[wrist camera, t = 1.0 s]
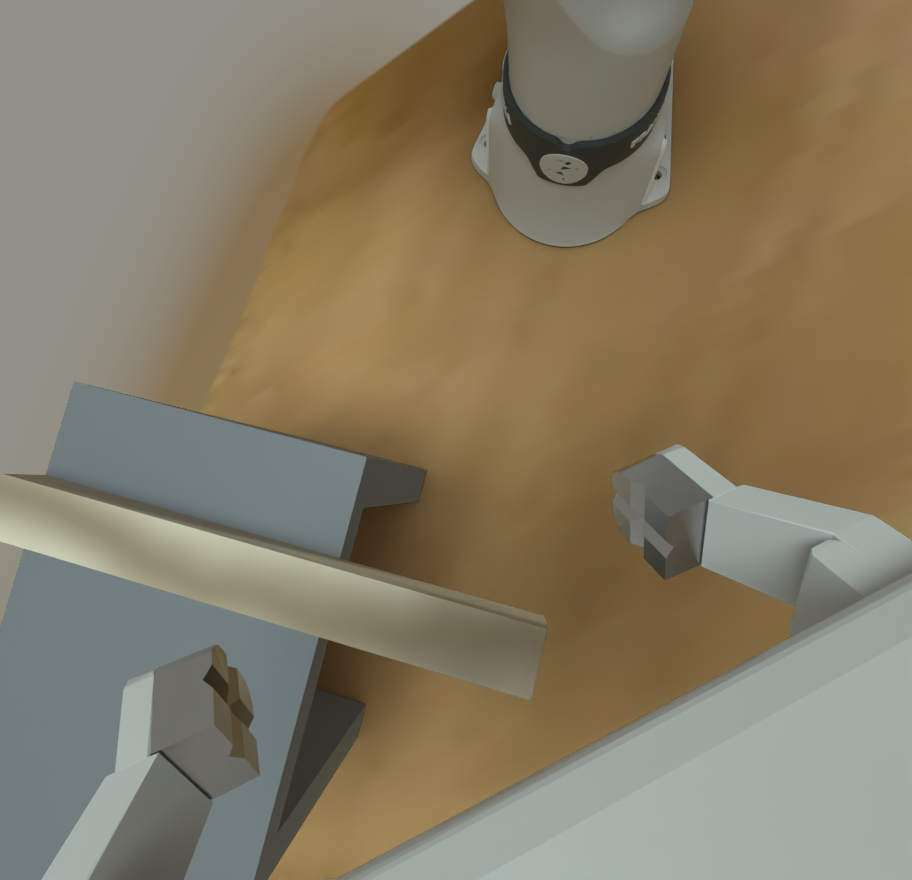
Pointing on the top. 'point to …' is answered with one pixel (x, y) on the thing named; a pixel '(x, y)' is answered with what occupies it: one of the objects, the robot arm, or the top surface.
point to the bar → (277, 582)
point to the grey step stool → (176, 628)
